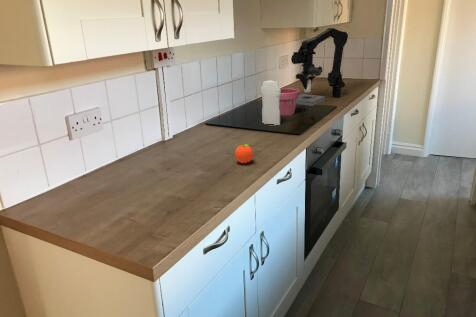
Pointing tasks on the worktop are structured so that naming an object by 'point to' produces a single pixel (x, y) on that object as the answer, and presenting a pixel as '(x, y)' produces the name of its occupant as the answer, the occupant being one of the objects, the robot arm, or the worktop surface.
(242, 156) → the clementine
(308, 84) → the peg
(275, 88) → the tall pale column
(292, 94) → the plant pot
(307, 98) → the hole plate
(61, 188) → the worktop surface
